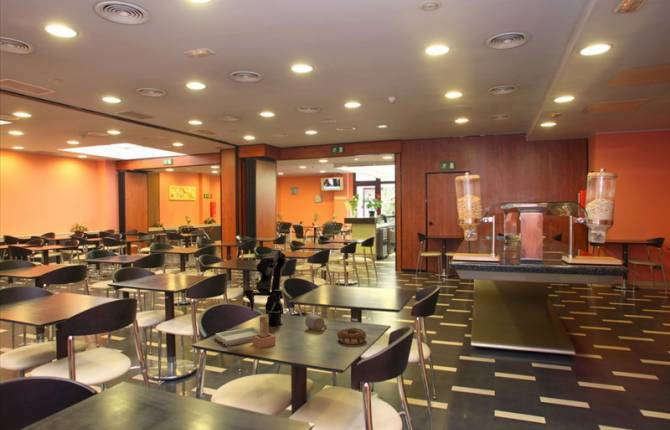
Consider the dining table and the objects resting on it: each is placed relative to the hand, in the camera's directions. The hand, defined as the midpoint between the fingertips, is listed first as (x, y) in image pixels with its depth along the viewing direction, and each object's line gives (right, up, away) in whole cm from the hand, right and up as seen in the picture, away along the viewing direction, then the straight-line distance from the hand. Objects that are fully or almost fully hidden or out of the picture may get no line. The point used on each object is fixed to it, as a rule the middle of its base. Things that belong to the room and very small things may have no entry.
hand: (261, 311), depth 201 cm
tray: (-11, -14, +3) cm, 18 cm away
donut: (+43, -15, +1) cm, 45 cm away
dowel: (+2, -14, -6) cm, 15 cm away
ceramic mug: (+26, -14, +20) cm, 36 cm away
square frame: (+2, -14, -6) cm, 15 cm away
